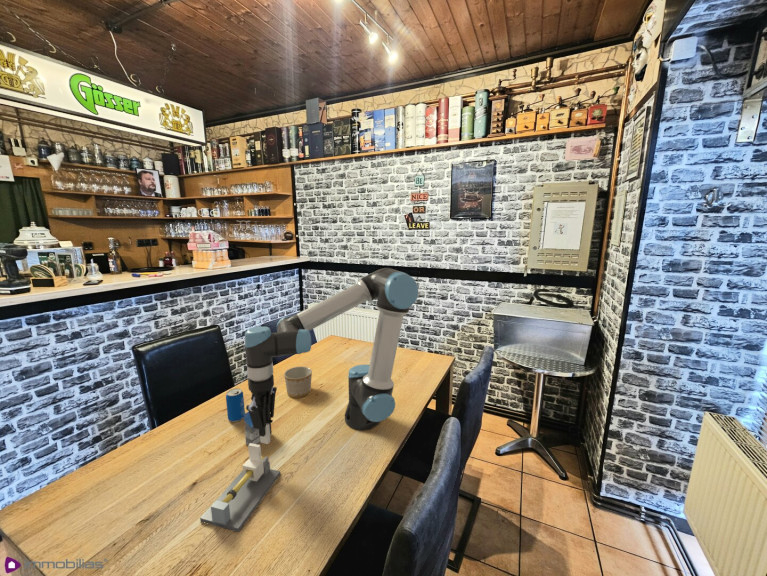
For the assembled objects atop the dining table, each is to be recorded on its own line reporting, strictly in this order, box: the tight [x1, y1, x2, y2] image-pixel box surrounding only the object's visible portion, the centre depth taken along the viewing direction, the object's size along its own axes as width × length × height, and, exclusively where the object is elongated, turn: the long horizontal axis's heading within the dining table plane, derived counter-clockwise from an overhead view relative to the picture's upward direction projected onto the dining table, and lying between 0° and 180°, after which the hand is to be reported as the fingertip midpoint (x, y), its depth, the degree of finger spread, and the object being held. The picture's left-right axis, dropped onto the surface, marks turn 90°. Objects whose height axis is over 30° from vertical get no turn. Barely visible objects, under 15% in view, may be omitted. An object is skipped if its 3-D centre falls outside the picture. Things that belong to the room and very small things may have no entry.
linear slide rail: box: [199, 456, 281, 533], centre depth 93 cm, size 12×20×6 cm, turn 166°
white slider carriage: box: [242, 443, 264, 481], centre depth 97 cm, size 5×4×10 cm
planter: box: [283, 366, 313, 399], centre depth 149 cm, size 13×13×10 cm
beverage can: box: [225, 387, 246, 423], centre depth 129 cm, size 6×6×12 cm
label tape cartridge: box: [243, 411, 273, 446], centre depth 116 cm, size 9×4×12 cm, turn 151°
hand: (265, 441), depth 103 cm, fingers closed
